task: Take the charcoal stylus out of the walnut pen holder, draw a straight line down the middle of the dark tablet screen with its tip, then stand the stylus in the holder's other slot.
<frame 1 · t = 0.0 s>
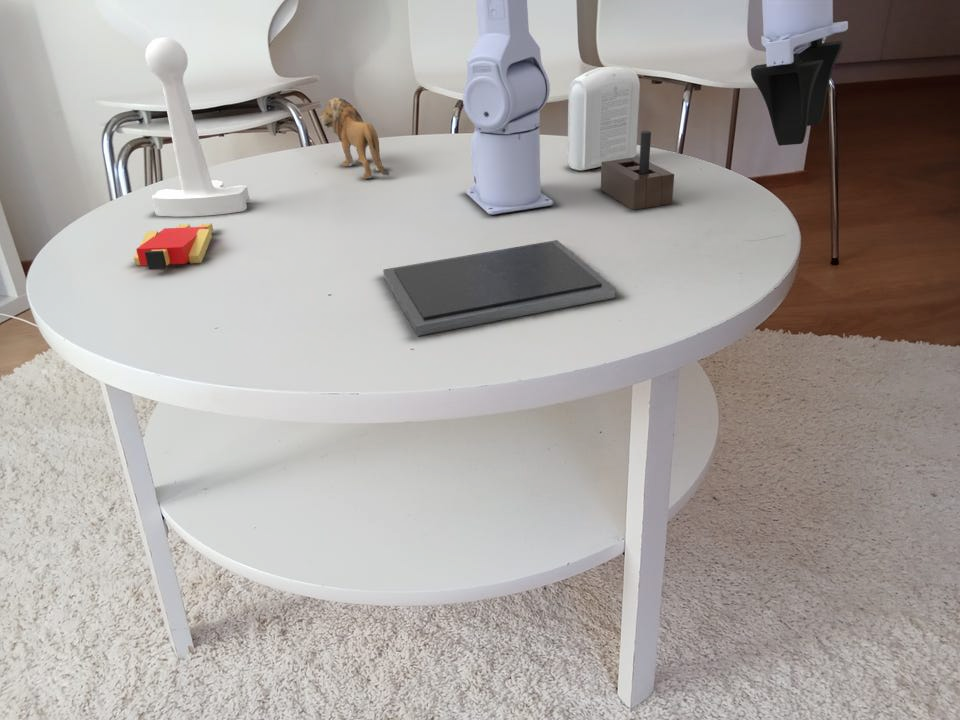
hand: (800, 134, 73), 11 cm above the table, tool pointing down, fingers open, 7 cm apart
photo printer: (602, 164, 106), on the table
stylus: (642, 200, 91), resting in holder
lion figurine: (359, 169, 110), on the table
holder: (635, 196, 92), on the table
tablet: (494, 288, 71), on the table
joystick: (206, 207, 98), on the table
toy figure: (180, 254, 84), on the table
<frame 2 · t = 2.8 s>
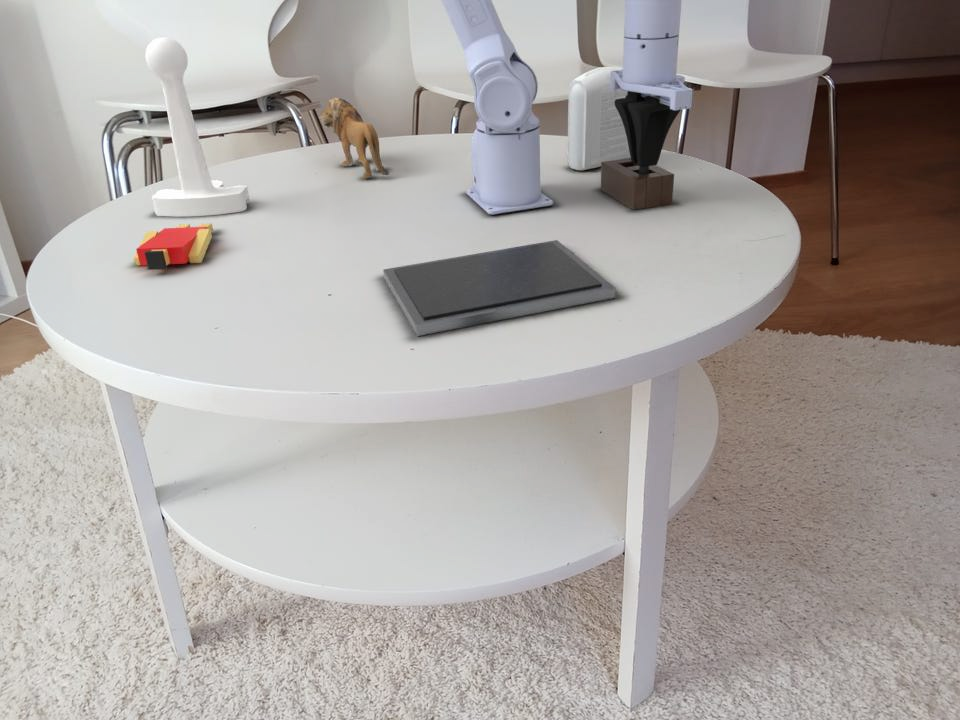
hand: (644, 163, 89), 4 cm above the table, tool pointing down, fingers closed on stylus, 1 cm apart
stylus: (642, 200, 91), resting in holder, touching gripper
everything else where it was.
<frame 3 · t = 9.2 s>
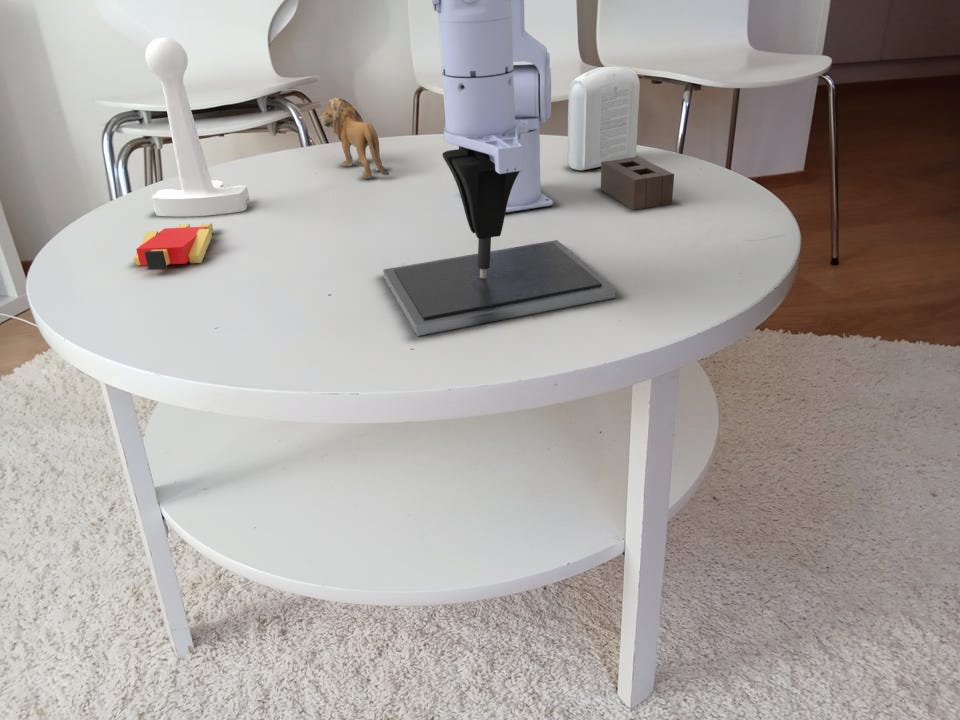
hand: (485, 233, 68), 5 cm above the table, tool pointing down, fingers closed on stylus, 1 cm apart
stylus: (483, 277, 70), point 1 cm above the table, tilted 5°, touching gripper
everything else where it was.
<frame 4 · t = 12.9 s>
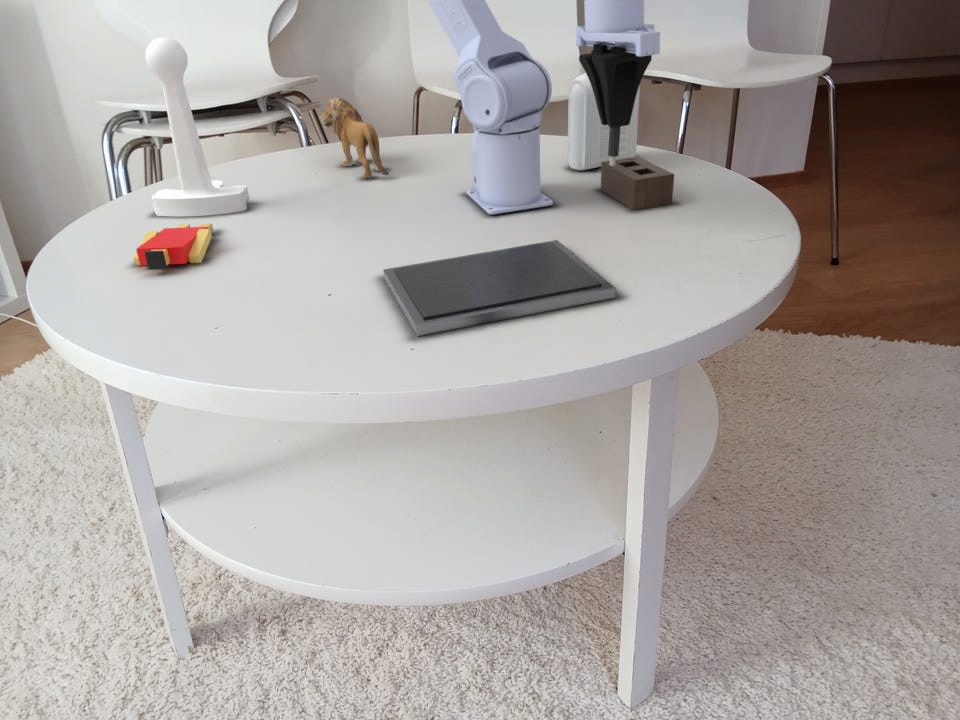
hand: (615, 124, 80), 10 cm above the table, tool pointing down, fingers closed on stylus
stylus: (612, 165, 82), point 6 cm above the table, touching gripper
everything else where it was.
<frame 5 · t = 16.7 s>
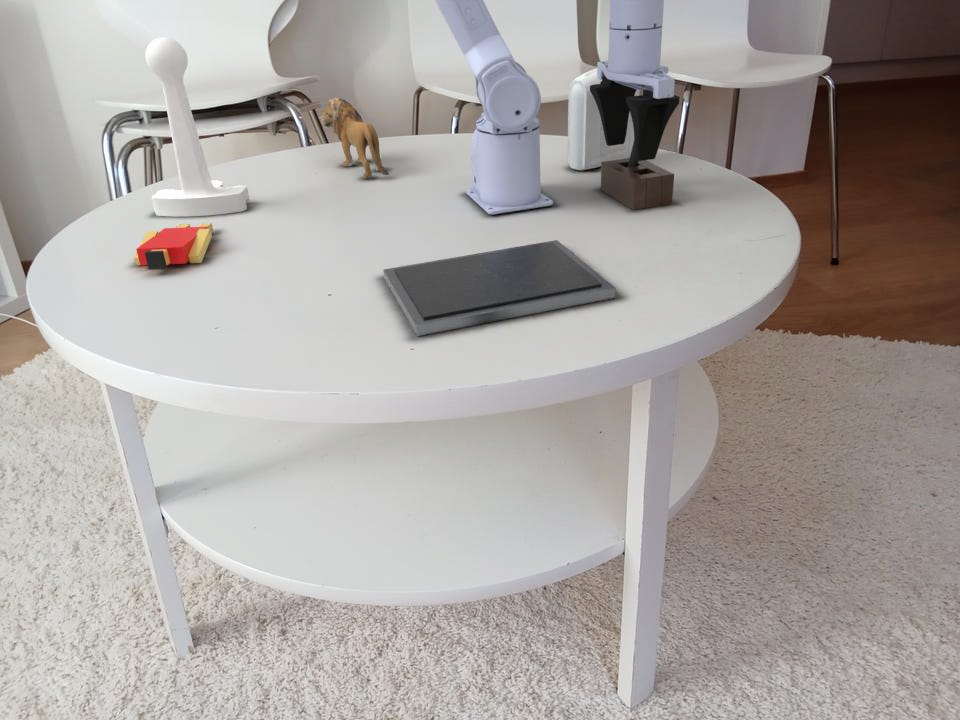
hand: (629, 151, 91), 5 cm above the table, tool pointing down, fingers open, 7 cm apart
stylus: (625, 192, 94), resting in holder, tilted 13°
everything else where it was.
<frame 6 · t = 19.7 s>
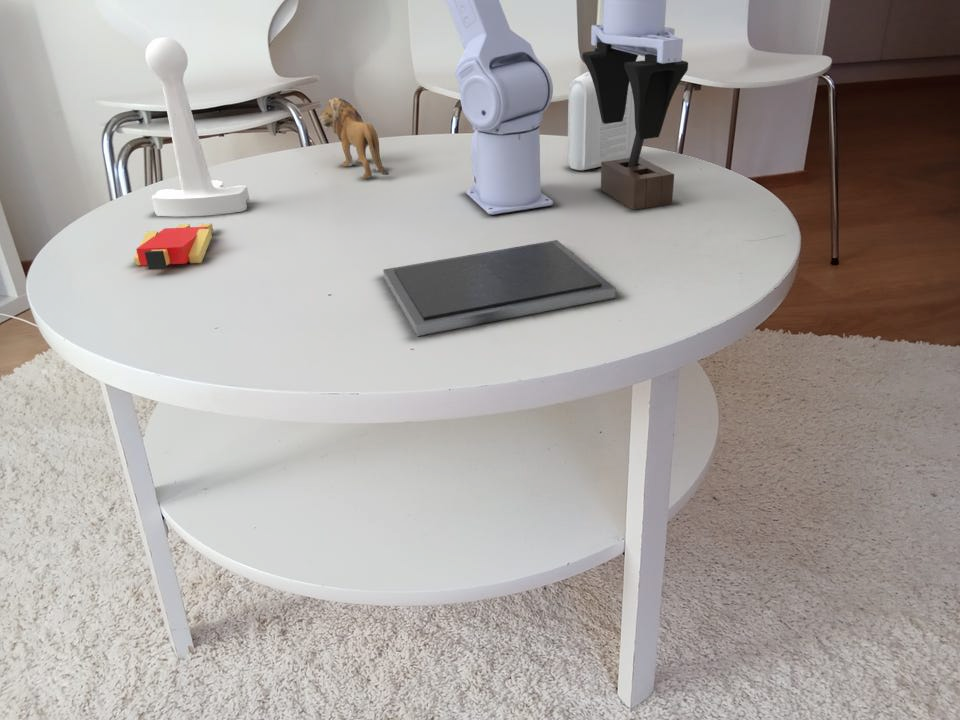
hand: (629, 129, 78), 10 cm above the table, tool pointing down, fingers open, 7 cm apart
nothing on the table moved.
at the end: stylus 0.3 cm from the target spot in the holder, point 0.1 cm above the holder's base; stylus tilted 13°; stylus touching holder, table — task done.
